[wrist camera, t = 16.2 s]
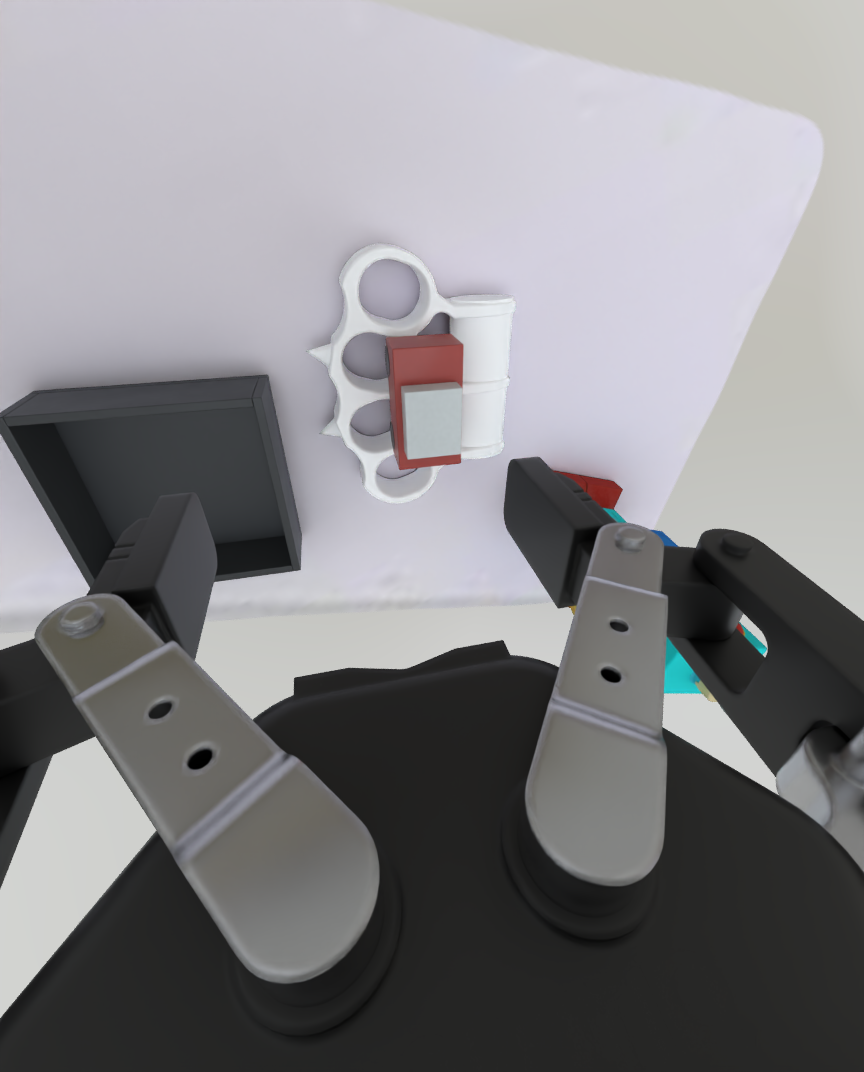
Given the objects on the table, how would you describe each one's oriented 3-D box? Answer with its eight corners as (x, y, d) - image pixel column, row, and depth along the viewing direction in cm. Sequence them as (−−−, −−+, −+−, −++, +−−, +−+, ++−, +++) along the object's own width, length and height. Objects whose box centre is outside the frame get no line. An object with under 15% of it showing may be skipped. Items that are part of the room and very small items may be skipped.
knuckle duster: (492, 474, 42) (329, 492, 40) (509, 240, 32) (290, 245, 29) (504, 492, 39) (330, 512, 37) (527, 242, 29) (287, 248, 27)
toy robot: (627, 483, 46) (869, 693, 26) (599, 533, 49) (797, 755, 29) (525, 464, 42) (715, 692, 22) (502, 520, 45) (651, 764, 25)
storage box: (118, 558, 39) (95, 598, 35) (33, 390, 31) (-10, 418, 27) (301, 535, 42) (300, 570, 38) (267, 374, 33) (261, 397, 29)
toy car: (449, 442, 36) (467, 472, 32) (391, 448, 35) (401, 479, 31) (449, 331, 31) (470, 349, 27) (383, 335, 30) (394, 354, 26)
